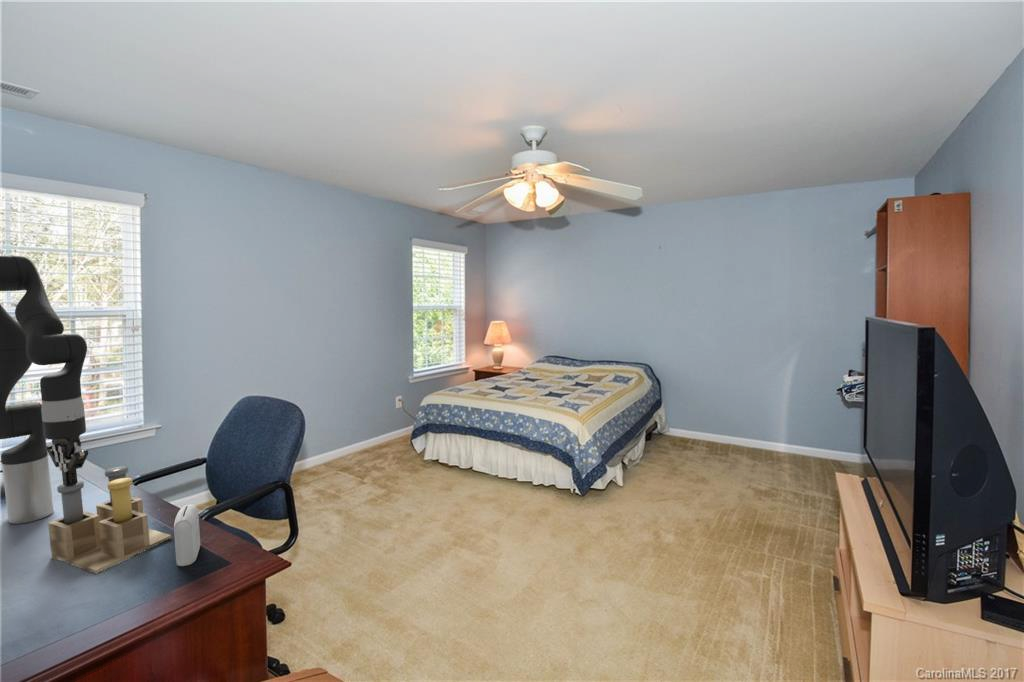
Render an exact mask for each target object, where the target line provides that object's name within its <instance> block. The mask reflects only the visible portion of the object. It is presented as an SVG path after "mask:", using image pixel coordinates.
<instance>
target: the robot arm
mask: <svg viewBox="0 0 1024 682" xmlns="http://www.w3.org/2000/svg"><path fill="white" fill-rule="evenodd" d="M13 291H14V292H15V291H17V292H18V291H26V292H25V293H24V295H23V296H22V297H21V299H20V300H19V301H18V302H17V305H16V307H15V310H14V315H15V316H14V317H15V318H13V316H11V314H9V313H8V312H7V311H6V309H5V308H4V307H3V305H2V304H1V303H0V440H6V439H12V438H13V439H14V438H19V437H24V436H29V437H27V439H25V440H24V441H22V442H21V443H18V444H17V445H15V446H13V447H10V448H7V449H6V450H4V451H3V452H2V453H1V454H0V462H1V467H2V468H1V469H2V475H3V484H4V485H3V487H4V494H5V500H6V501H5V503H6V511H7V521H8V523H10V524H12V525H13V524H15V525H19V524H26V523H31V522H34V521H38V520H41V519H43V518H47V517H49V516H50V515H51V514H53V512H54V504H53V503H54V502H53V494H52V493H53V492H52V483H51V473H50V467H49V466H50V465H49V463H50V462H49V456H50V458H51V460H52V462H53V464H54V466H55V468H59V470H60V472H61V476H62V484H63V485H65V486H71V485H74V484H76V483H77V481H78V475H77V472H78V471H77V470H78V469H81V468H83V466H84V464H85V461H86V459H87V457H88V455H89V451H88V449H85V450H84V449H83V448H82V442H81V440H80V439H81V438H80V436H81V435H83V434H85V433H86V431H87V427H86V425H87V424H86V416H85V415H86V413H85V404H84V401H83V395H82V386H81V377H82V372H83V371H82V370H83V367H84V363H85V360H86V358H87V357H86V356H87V352H88V346H87V345H88V344H87V341H86V339H85V338H84V337H83V335H82V336H81V335H80V334H78V333H74V332H73V333H71V332H70V333H64V330H65V328H64V327H65V326H64V324H63V322H62V321H61V319H60V318H59V316H58V314H57V312H56V311H55V310H54V309H53V307H52V305H51V303H50V301H49V298H48V295H47V292H46V288H45V286H44V284H43V281H42V278H41V276H40V273H39V271H38V269H37V267H36V264H35V263H34V262H33V260H32V259H30V257H28V256H26V255H19V254H18V255H17V254H0V292H13ZM32 364H34V365H37V366H49V365H58V364H59V365H60V364H64V366H63V367H62V368H61V369H60V370H58V371H56V372H53V373H50V374H47V375H43V376H42V377H41V378H40V380H39V381H40V382H39V385H40V396H41V397H40V398H41V402H39V401H31V402H30V401H29V402H22V403H15V404H9V405H6V404H7V400H8V399H9V398H8V397H9V396H10V393H11V391H12V390H13V389H14V387H16V384H18V382H19V381H20V380H21V379H22V377H24V375H25V374H26V373H27V372H28V370H29V369H30V368H31V366H32ZM47 440H51V443H52V444H51V445H47Z"/></svg>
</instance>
